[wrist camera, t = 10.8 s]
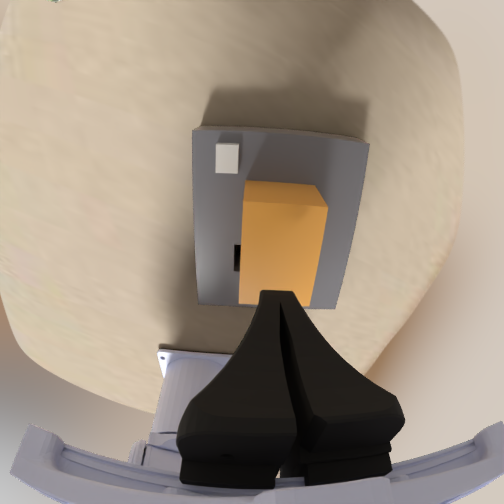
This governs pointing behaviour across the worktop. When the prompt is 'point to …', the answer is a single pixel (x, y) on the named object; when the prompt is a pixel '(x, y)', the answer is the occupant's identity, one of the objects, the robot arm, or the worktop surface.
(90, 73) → the worktop surface
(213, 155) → the socket
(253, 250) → the plug
